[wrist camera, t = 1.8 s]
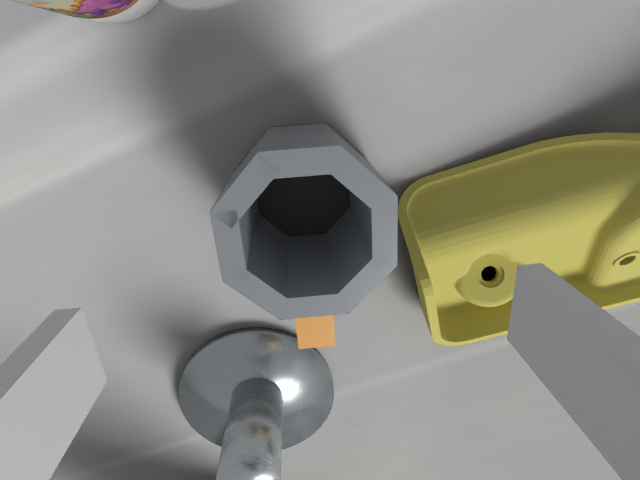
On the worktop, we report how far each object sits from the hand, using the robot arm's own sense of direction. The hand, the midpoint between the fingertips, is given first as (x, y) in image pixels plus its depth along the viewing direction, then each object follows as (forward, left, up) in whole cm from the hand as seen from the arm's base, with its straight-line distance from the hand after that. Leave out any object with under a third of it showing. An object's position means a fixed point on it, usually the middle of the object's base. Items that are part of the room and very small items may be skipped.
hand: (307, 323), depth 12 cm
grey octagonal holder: (0, +1, -15) cm, 15 cm away
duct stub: (+5, +16, -15) cm, 22 cm away
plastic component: (-17, +4, -15) cm, 23 cm away
